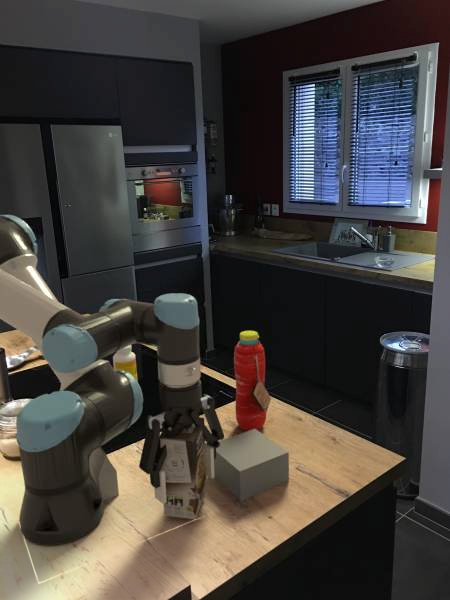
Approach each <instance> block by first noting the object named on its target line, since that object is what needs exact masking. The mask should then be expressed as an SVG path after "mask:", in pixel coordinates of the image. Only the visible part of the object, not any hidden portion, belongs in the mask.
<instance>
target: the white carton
mask: <svg viewBox="0 0 450 600" xmlns="http://www.w3.org/2000/svg"><path fill="white" fill-rule="evenodd" d="M89 466H90V474H91V476H92V478H93V479H94V481H95V483H96V485H97V487H98V489H99V491H100V493H101V495H102V498H103V502H104V501H106V500H110V499H113V498H115V497H118V496H120V492H119V491H120V490H119V484H118V483H119V482H118V472H117V470H116V468H115V466H114V465H113V464H112V462H111V461H110V460H109V457H108V455H107V453H106V452H105V451H104V449H103V447H102V446H100V447H99V448H97V449H96V450H94V451H93V452H91V453H90V455H89Z"/></svg>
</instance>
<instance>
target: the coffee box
mask: <svg viewBox="0 0 450 600" xmlns="http://www.w3.org/2000/svg"><path fill="white" fill-rule="evenodd" d="M199 417H200V418H201V419H202V421H203V423H204V424H205V417H201V416H199ZM169 429H170V430H171V431H172V428H170V427H169ZM205 443H206V441H205V437H204V435H203V433H202V425H201V426H197V425H196V424H194V423H193V424H192V426H191V427H186V428H184V429H183V430H181V431H179V432H178V435H177V436H175V437H170V438H168V437H166V436H165V435H163V434H162V436H161V437H160V448H162V447H163V446H164V445H165V444H166V447H167V456H166V459H165V461H164V464H163V466H162V468H161V469H163V470H164V471H165V482H166V499H167V503H165V504H163V515H164V517H165V516H166V517H174V518H181V519H188V520H189V519H191V520H196V519H197V517H198V514H199V511H200V509H201V506H202V504H203V502H204V499H205V496H206V494H207V491H208V487H207V486H208V485H207V483H208V482H207V481H208V480H207V475H206V455H205Z"/></svg>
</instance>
